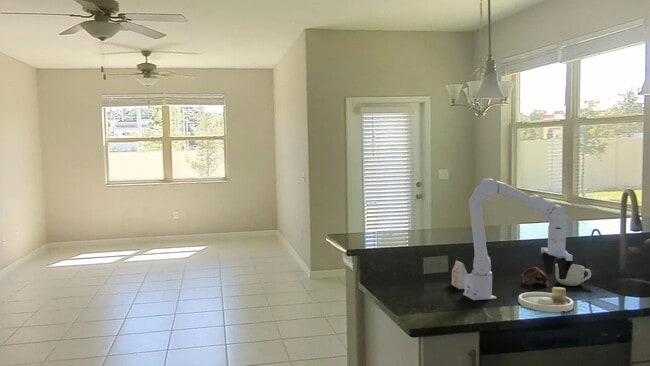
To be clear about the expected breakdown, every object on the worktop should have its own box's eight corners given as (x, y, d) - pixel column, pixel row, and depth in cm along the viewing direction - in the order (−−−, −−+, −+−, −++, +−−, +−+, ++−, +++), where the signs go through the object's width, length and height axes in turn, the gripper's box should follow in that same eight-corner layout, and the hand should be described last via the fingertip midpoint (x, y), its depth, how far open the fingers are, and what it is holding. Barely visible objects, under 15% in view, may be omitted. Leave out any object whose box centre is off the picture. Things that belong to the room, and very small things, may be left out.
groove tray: (539, 313, 175) (539, 307, 175) (509, 299, 192) (509, 293, 192) (584, 309, 179) (584, 304, 179) (550, 296, 196) (551, 290, 196)
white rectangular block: (460, 284, 213) (460, 260, 213) (467, 288, 207) (467, 263, 206) (451, 284, 213) (451, 260, 212) (458, 289, 206) (459, 264, 206)
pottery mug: (549, 290, 206) (539, 272, 206) (527, 297, 211) (517, 280, 211) (552, 276, 216) (542, 259, 216) (530, 283, 221) (521, 266, 221)
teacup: (549, 282, 216) (549, 263, 216) (567, 279, 221) (568, 261, 220) (578, 290, 204) (578, 270, 203) (597, 287, 208) (597, 267, 208)
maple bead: (557, 303, 184) (557, 290, 184) (549, 299, 188) (549, 287, 188) (568, 302, 185) (568, 289, 185) (559, 299, 189) (560, 286, 189)
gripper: (580, 242, 180) (579, 280, 181) (553, 235, 194) (552, 271, 195) (562, 242, 179) (561, 282, 180) (536, 236, 193) (535, 272, 194)
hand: (555, 276), depth 187 cm, fingers open, 7 cm apart
